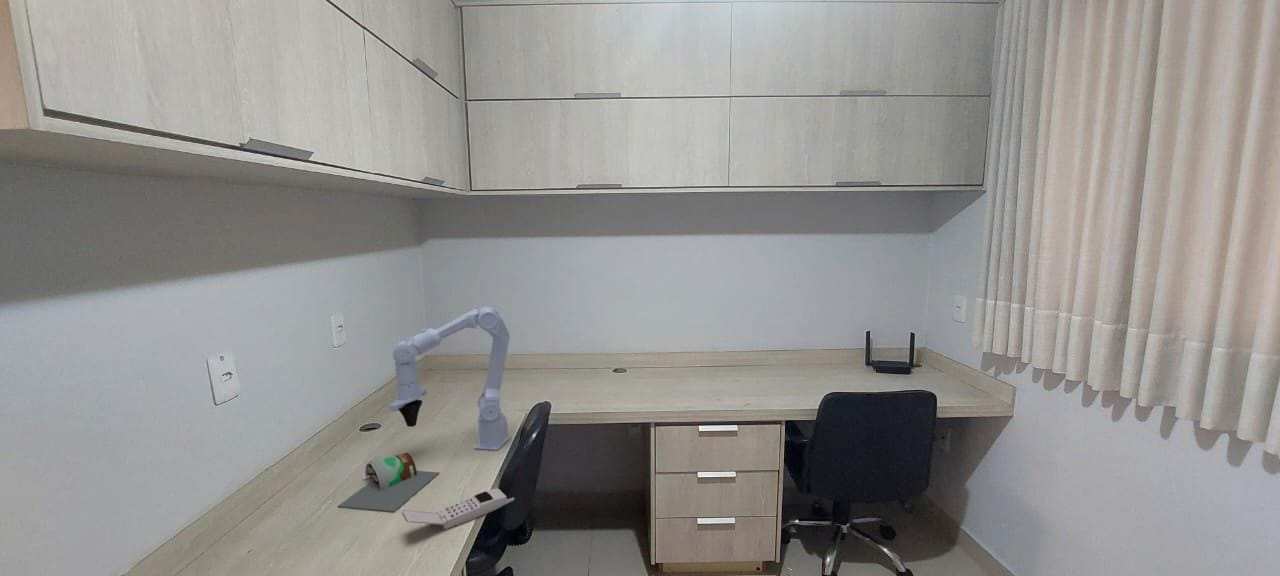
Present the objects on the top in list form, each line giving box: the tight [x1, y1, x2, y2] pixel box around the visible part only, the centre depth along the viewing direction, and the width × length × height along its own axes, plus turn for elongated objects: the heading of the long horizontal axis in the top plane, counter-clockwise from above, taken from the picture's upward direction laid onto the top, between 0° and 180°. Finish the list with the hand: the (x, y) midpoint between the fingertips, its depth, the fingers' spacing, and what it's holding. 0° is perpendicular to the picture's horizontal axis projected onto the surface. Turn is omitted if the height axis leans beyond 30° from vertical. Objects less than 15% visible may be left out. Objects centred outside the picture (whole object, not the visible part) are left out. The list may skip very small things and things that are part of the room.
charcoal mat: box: [337, 470, 440, 513], centre depth 133 cm, size 19×16×1 cm
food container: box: [365, 451, 418, 490], centre depth 139 cm, size 12×6×10 cm
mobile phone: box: [401, 488, 515, 530], centre depth 119 cm, size 6×6×25 cm
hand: (411, 425), depth 149 cm, fingers closed
